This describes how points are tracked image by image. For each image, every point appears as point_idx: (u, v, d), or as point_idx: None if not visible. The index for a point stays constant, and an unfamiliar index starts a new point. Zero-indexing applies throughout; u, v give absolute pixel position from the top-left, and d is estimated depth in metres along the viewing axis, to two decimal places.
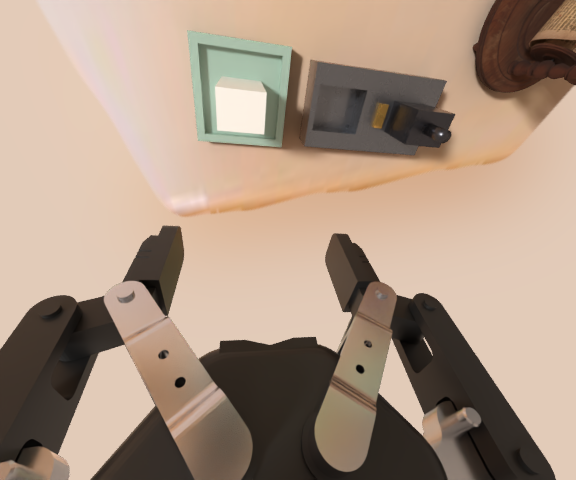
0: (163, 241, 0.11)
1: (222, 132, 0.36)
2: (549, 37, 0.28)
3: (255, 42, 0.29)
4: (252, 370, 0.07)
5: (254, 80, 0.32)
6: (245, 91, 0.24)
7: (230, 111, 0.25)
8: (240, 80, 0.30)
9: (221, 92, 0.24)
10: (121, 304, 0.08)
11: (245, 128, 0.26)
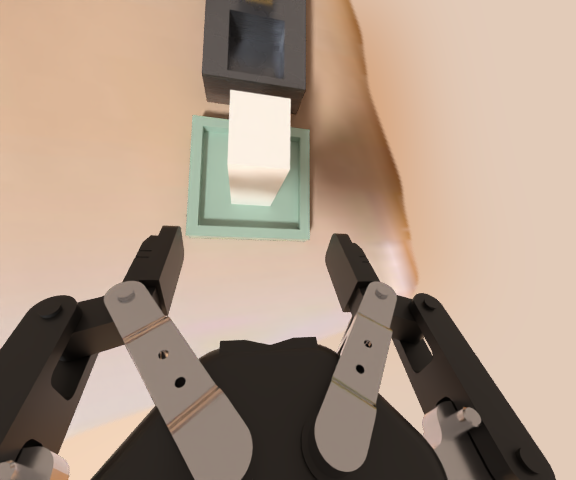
0: (163, 241, 0.11)
1: (296, 209, 0.26)
2: None
3: (191, 157, 0.24)
4: (252, 370, 0.07)
5: None
6: (230, 120, 0.16)
7: (261, 146, 0.16)
8: None
9: (234, 155, 0.15)
10: (121, 304, 0.08)
11: (284, 126, 0.16)
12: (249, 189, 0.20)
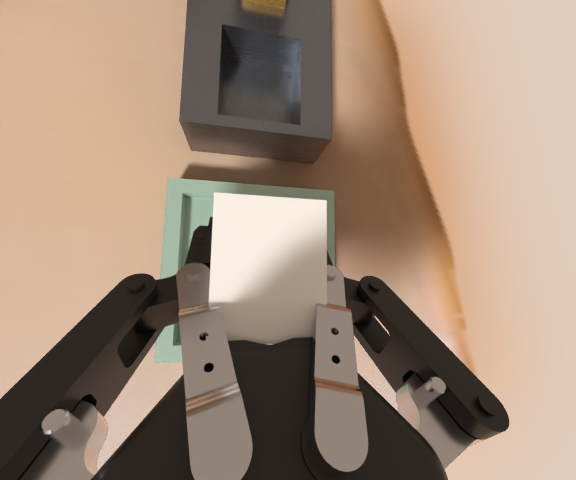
0: None
1: None
2: None
3: (164, 241, 0.16)
4: (252, 370, 0.07)
5: None
6: (214, 254, 0.08)
7: (273, 300, 0.08)
8: None
9: None
10: (192, 282, 0.09)
11: (316, 255, 0.09)
12: None
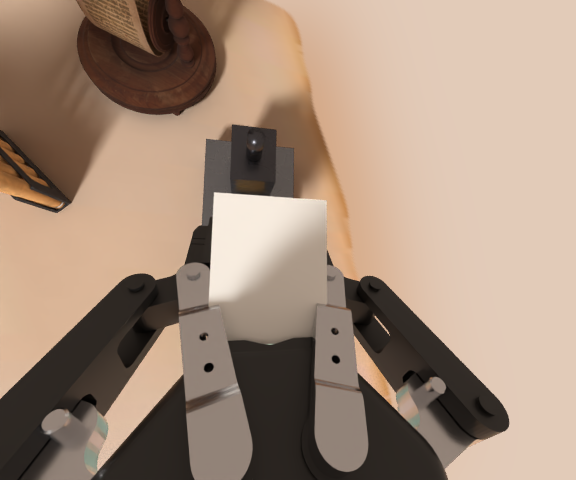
0: None
1: None
2: (144, 37, 0.23)
3: None
4: (252, 370, 0.07)
5: None
6: (214, 254, 0.08)
7: (272, 300, 0.08)
8: None
9: None
10: (192, 281, 0.09)
11: (316, 255, 0.09)
12: None
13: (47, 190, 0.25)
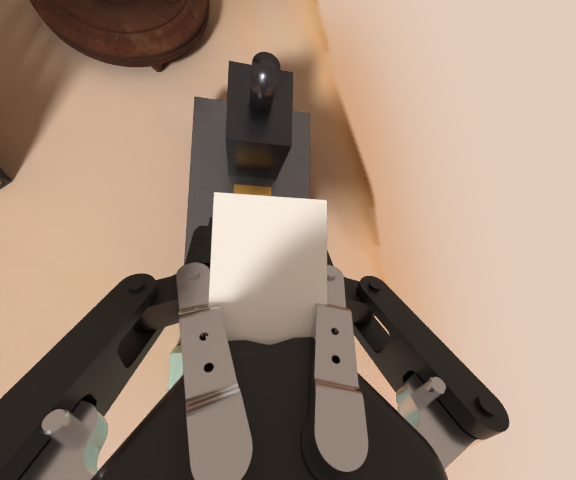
0: None
1: None
2: None
3: None
4: (252, 370, 0.07)
5: None
6: (214, 254, 0.08)
7: (273, 300, 0.08)
8: None
9: None
10: (192, 282, 0.09)
11: (316, 255, 0.09)
12: None
13: None
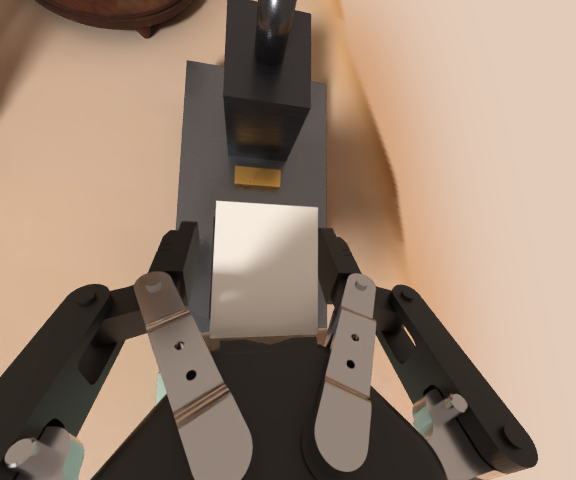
0: (183, 235, 0.11)
1: None
2: None
3: None
4: (252, 370, 0.07)
5: None
6: (216, 256, 0.09)
7: (269, 298, 0.09)
8: None
9: (222, 321, 0.09)
10: (150, 292, 0.08)
11: (307, 256, 0.10)
12: None
13: None
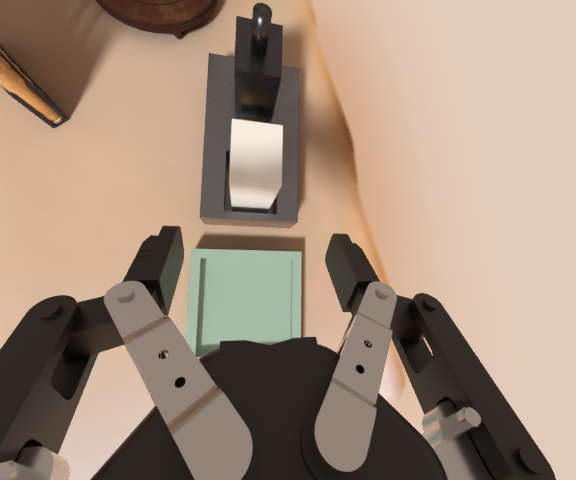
0: (163, 241, 0.11)
1: (289, 327, 0.28)
2: None
3: (189, 291, 0.25)
4: (252, 370, 0.07)
5: None
6: (232, 144, 0.19)
7: (257, 166, 0.19)
8: None
9: (235, 174, 0.19)
10: (121, 304, 0.08)
11: (277, 148, 0.19)
12: (247, 200, 0.23)
13: (44, 96, 0.24)
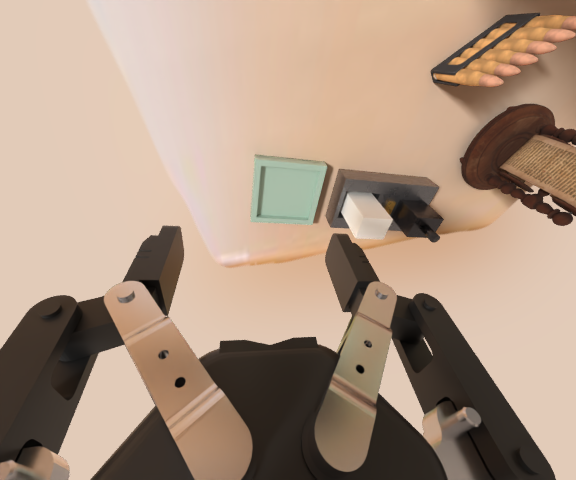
0: (163, 241, 0.11)
1: (268, 214, 0.47)
2: (511, 172, 0.39)
3: (301, 164, 0.40)
4: (252, 370, 0.07)
5: None
6: (380, 219, 0.38)
7: (367, 229, 0.39)
8: (360, 194, 0.44)
9: (366, 220, 0.38)
10: (121, 304, 0.08)
11: (372, 237, 0.40)
12: (350, 209, 0.42)
13: None
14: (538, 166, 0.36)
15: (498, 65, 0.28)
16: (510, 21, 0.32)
